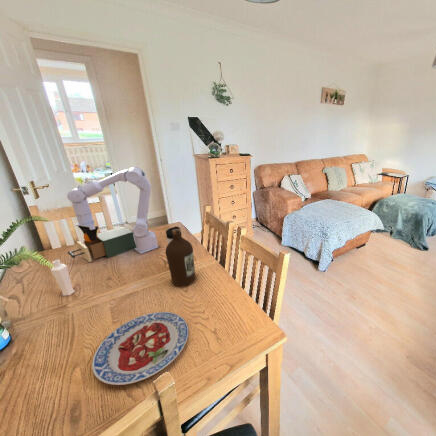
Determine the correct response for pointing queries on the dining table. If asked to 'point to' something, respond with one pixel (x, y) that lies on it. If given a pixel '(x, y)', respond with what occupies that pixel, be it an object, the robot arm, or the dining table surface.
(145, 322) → the ceramic plate
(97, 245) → the drawer
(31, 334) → the dining table surface
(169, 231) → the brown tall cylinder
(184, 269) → the brown bottle
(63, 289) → the perfume bottle
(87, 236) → the orange
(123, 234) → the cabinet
